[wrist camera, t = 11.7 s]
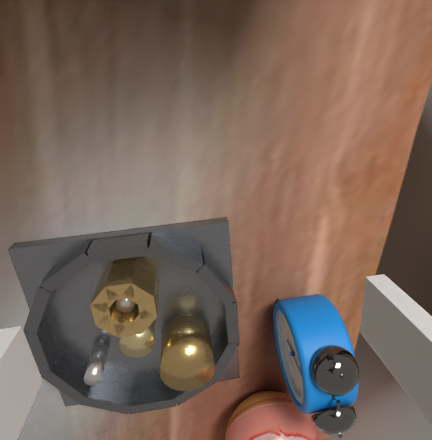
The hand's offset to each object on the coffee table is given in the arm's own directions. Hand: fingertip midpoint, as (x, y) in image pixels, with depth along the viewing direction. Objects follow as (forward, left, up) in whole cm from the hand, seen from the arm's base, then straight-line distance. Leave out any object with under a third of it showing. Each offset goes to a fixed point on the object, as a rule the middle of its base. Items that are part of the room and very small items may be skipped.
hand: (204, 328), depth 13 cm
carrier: (+19, -8, -27) cm, 34 cm away
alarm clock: (+23, +13, -27) cm, 38 cm away
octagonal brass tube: (+13, -8, -25) cm, 29 cm away
